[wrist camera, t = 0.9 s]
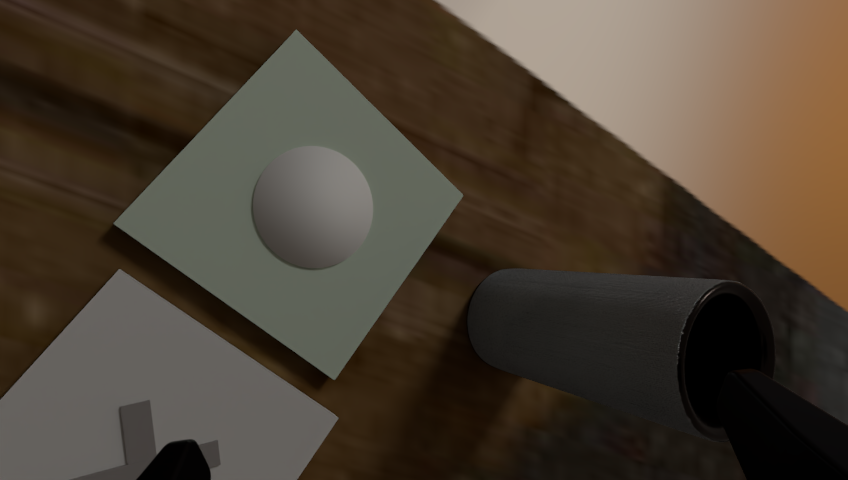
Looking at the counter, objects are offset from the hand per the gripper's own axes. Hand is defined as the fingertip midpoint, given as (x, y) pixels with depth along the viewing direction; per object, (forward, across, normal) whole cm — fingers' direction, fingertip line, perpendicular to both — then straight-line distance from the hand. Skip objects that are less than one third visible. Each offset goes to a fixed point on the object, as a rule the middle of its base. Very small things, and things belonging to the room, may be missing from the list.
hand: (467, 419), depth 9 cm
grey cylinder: (+12, -4, +9) cm, 15 cm away
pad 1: (+12, +4, +2) cm, 13 cm away
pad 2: (+5, +10, +7) cm, 13 cm away
